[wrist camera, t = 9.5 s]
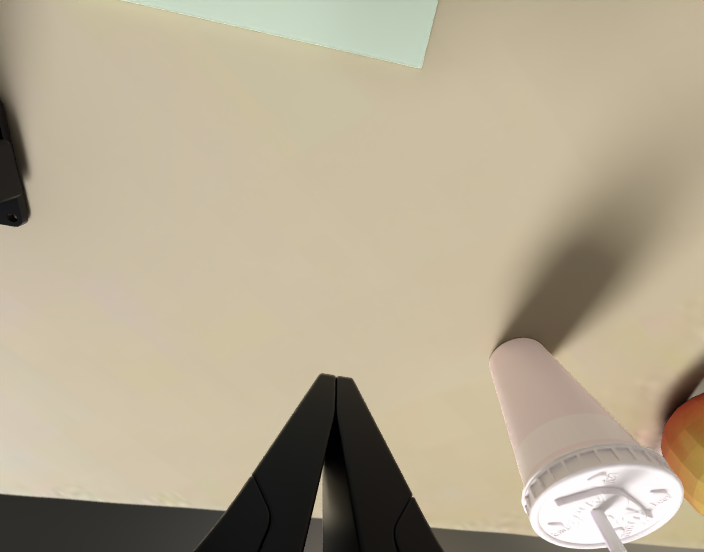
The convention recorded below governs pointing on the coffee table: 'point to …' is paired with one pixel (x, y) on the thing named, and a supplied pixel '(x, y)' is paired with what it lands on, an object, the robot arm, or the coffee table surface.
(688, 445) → the apple
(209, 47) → the coffee table surface
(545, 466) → the smoothie
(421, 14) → the base plate
